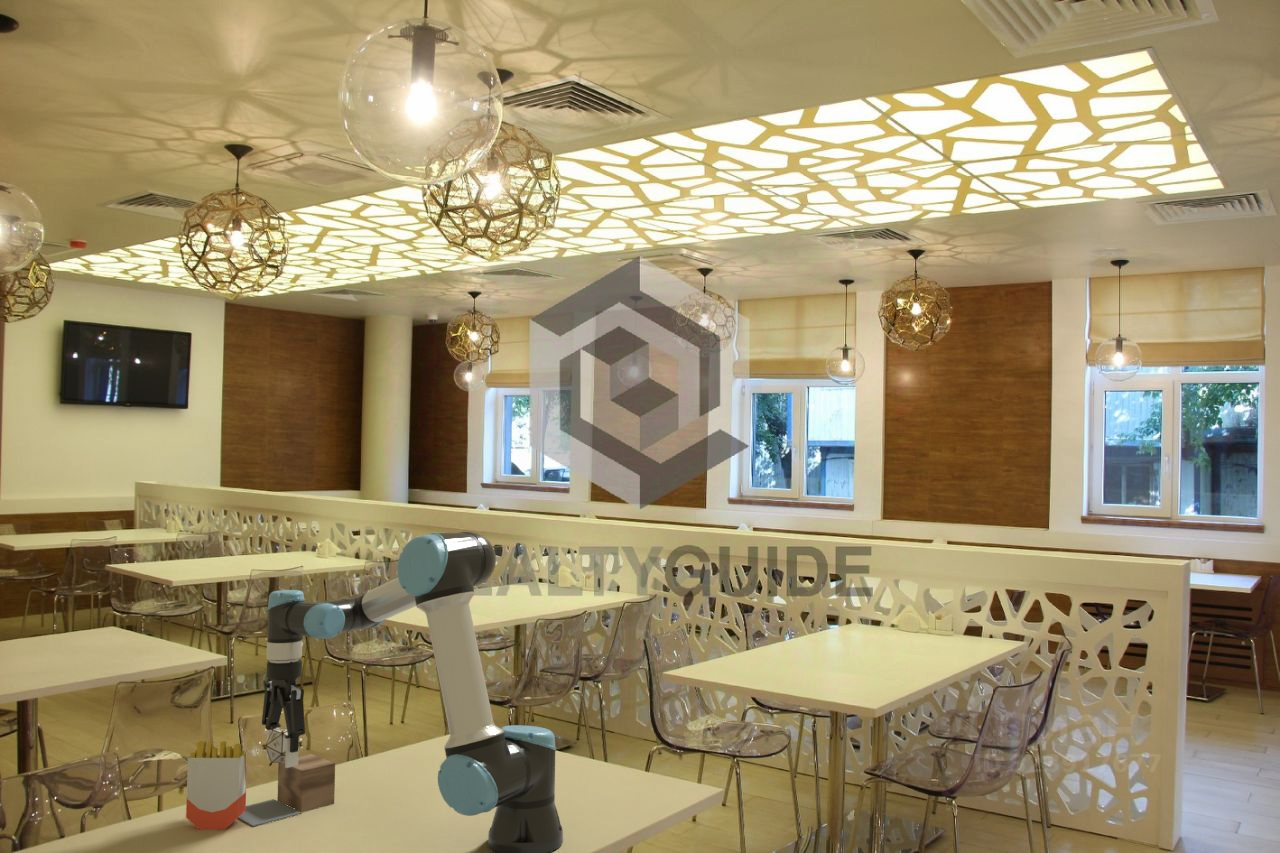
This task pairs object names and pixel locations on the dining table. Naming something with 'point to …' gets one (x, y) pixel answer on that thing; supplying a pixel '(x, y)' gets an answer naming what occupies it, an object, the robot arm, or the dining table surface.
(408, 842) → the dining table surface
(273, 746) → the game die
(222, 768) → the french fries container
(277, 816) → the mat
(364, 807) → the dining table surface
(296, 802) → the cardboard box
